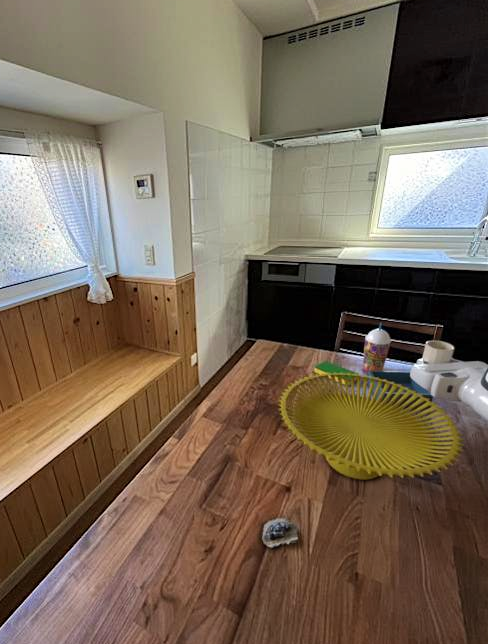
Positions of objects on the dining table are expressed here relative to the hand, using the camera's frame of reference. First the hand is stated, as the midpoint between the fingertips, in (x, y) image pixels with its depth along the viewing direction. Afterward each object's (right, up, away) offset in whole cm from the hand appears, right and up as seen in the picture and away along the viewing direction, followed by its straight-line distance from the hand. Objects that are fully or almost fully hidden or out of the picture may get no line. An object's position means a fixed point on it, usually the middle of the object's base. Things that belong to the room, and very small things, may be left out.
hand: (433, 360), depth 100 cm
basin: (-2, -12, +14) cm, 19 cm away
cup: (0, -6, +2) cm, 7 cm away
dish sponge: (-17, -8, +27) cm, 33 cm away
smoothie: (-3, -6, +28) cm, 29 cm away
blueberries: (-54, -35, -29) cm, 70 cm away
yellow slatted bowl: (-29, -26, -11) cm, 40 cm away
